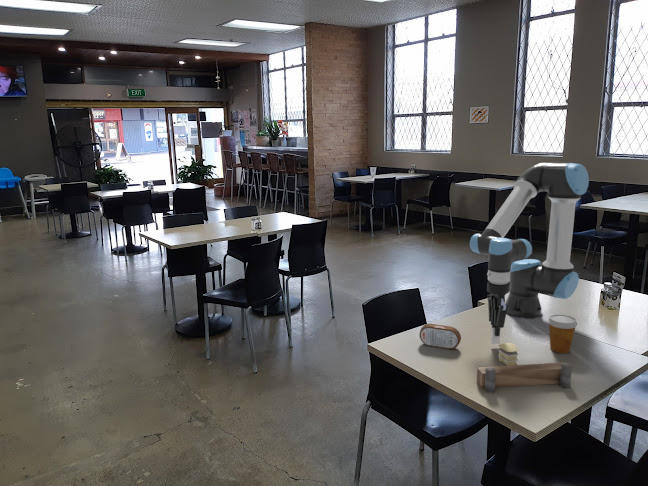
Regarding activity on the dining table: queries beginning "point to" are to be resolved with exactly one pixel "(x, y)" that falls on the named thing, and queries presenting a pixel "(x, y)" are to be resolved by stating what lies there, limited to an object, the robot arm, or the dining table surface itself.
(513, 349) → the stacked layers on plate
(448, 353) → the dining table surface
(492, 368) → the bar
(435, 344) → the tin
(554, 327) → the disposable coffee cup
